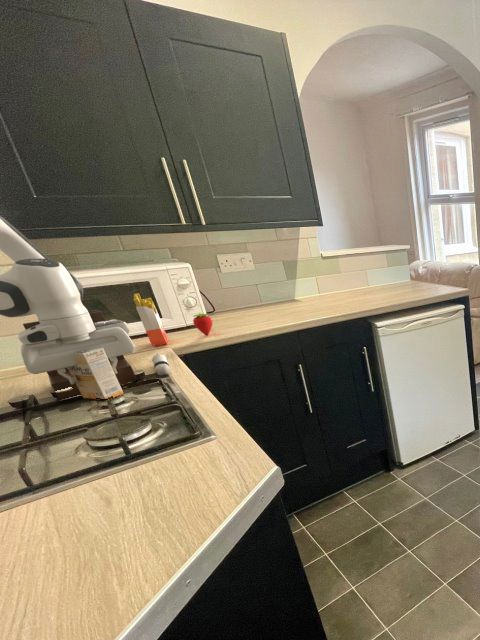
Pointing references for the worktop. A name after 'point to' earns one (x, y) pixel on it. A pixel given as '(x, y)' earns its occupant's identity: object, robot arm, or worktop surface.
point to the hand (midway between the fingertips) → (94, 378)
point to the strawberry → (203, 323)
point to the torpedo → (161, 364)
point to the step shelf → (61, 382)
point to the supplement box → (95, 375)
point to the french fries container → (150, 320)
